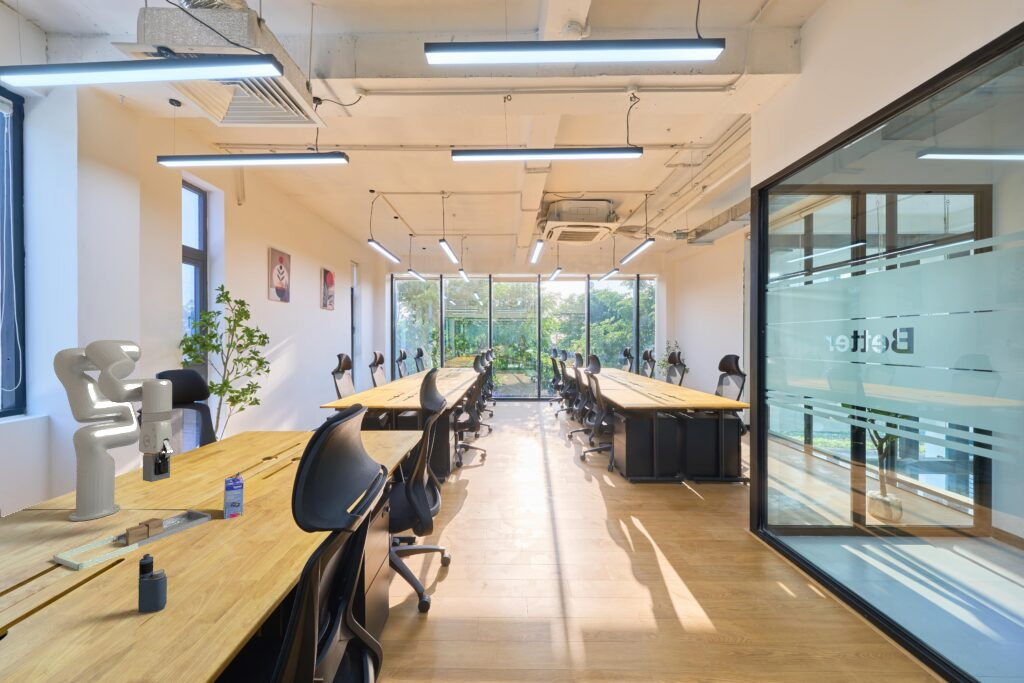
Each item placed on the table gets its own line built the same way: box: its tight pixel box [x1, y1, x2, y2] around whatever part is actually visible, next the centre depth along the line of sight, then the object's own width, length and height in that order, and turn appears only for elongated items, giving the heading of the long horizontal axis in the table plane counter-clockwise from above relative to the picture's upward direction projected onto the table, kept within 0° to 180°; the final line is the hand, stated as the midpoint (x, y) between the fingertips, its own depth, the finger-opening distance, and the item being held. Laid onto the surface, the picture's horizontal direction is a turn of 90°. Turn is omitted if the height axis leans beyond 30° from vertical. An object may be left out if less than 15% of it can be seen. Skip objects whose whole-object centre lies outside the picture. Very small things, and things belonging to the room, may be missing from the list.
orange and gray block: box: [142, 451, 171, 483], centre depth 133 cm, size 5×5×8 cm
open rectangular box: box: [115, 509, 212, 548], centre depth 128 cm, size 11×20×3 cm, turn 158°
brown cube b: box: [125, 524, 148, 546], centre depth 120 cm, size 4×4×4 cm
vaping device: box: [137, 553, 168, 614], centre depth 90 cm, size 3×5×12 cm, turn 95°
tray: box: [52, 535, 139, 571], centre depth 113 cm, size 13×12×2 cm
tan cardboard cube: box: [138, 517, 164, 537], centre depth 125 cm, size 4×4×4 cm
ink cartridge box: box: [222, 471, 245, 520], centre depth 142 cm, size 10×6×14 cm, turn 37°
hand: (156, 472), depth 132 cm, fingers closed on orange and gray block, 5 cm apart
